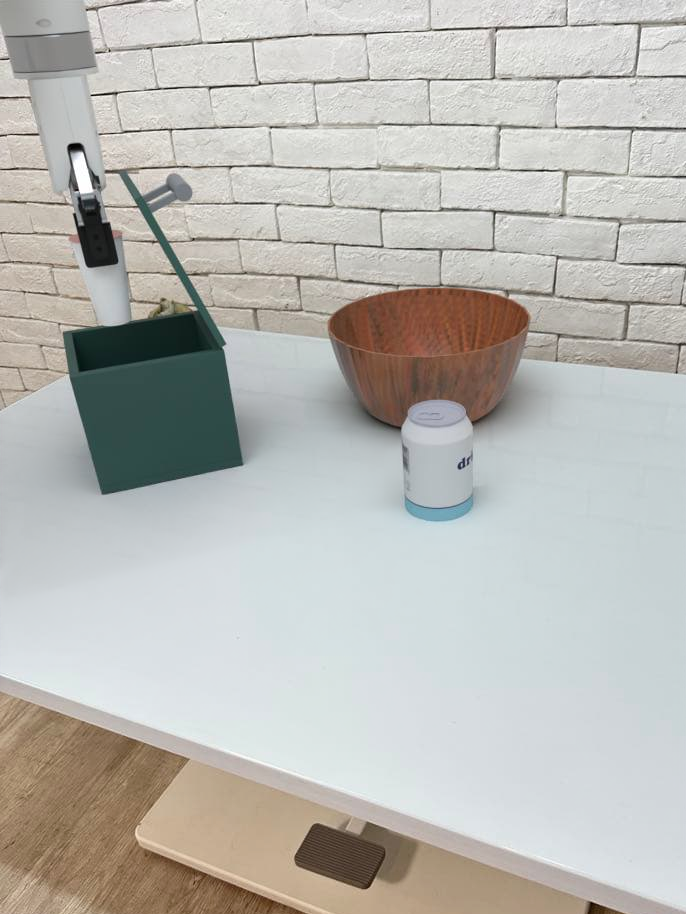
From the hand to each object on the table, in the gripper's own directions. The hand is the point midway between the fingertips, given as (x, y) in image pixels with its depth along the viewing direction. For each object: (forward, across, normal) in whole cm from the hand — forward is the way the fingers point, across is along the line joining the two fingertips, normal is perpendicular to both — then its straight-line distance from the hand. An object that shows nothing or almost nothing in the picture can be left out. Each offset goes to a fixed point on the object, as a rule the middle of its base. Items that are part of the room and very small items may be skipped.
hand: (99, 256), depth 88 cm
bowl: (+24, 0, +36) cm, 43 cm away
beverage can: (+24, +26, +26) cm, 44 cm away
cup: (+7, 0, 0) cm, 7 cm away
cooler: (+24, -2, +2) cm, 24 cm away
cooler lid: (+2, -1, +7) cm, 7 cm away
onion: (+24, -38, +9) cm, 45 cm away
